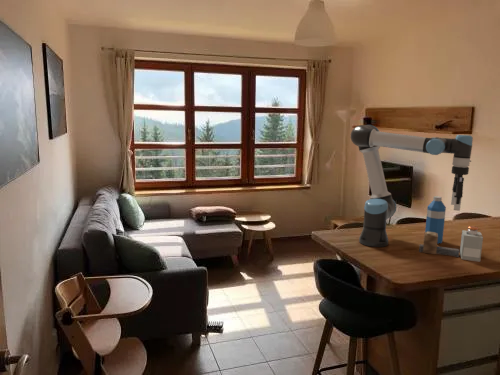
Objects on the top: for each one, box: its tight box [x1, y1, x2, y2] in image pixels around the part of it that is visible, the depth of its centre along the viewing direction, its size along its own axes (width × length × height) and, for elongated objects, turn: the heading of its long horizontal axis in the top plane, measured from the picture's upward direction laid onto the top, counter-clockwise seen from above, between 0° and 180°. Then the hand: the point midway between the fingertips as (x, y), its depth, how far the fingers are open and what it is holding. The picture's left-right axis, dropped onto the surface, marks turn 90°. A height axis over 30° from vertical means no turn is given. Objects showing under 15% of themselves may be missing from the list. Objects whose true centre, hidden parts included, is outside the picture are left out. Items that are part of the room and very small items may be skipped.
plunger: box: [467, 225, 479, 236], centre depth 195 cm, size 4×4×6 cm
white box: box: [459, 229, 484, 262], centre depth 196 cm, size 8×10×12 cm
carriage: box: [422, 231, 438, 255], centre depth 203 cm, size 6×7×10 cm
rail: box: [418, 243, 460, 258], centre depth 202 cm, size 18×5×3 cm, turn 67°
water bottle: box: [424, 195, 447, 245], centre depth 220 cm, size 9×9×25 cm
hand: (455, 207), depth 204 cm, fingers open, 13 cm apart
